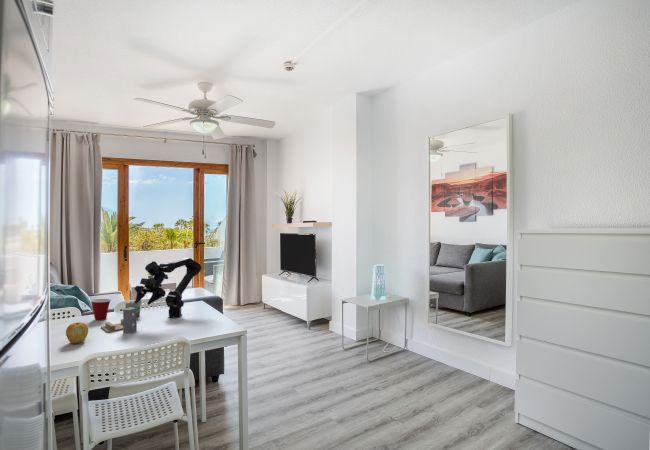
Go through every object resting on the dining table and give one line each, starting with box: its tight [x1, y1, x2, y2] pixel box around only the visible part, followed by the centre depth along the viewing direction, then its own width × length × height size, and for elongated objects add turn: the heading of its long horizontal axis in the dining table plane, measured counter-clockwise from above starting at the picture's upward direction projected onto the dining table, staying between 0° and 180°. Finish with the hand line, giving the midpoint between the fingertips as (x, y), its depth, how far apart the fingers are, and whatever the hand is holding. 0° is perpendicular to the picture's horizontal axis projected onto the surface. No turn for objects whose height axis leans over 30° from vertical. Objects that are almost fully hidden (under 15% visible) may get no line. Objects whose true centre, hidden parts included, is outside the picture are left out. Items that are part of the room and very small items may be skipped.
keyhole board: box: [100, 318, 123, 334], centre depth 207 cm, size 14×12×3 cm
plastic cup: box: [90, 298, 112, 322], centre depth 225 cm, size 11×11×12 cm
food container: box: [124, 298, 143, 319], centre depth 229 cm, size 12×6×10 cm, turn 179°
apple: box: [65, 321, 89, 345], centre depth 183 cm, size 9×9×10 cm
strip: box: [122, 307, 138, 334], centre depth 200 cm, size 4×5×13 cm
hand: (141, 303), depth 207 cm, fingers open, 9 cm apart
